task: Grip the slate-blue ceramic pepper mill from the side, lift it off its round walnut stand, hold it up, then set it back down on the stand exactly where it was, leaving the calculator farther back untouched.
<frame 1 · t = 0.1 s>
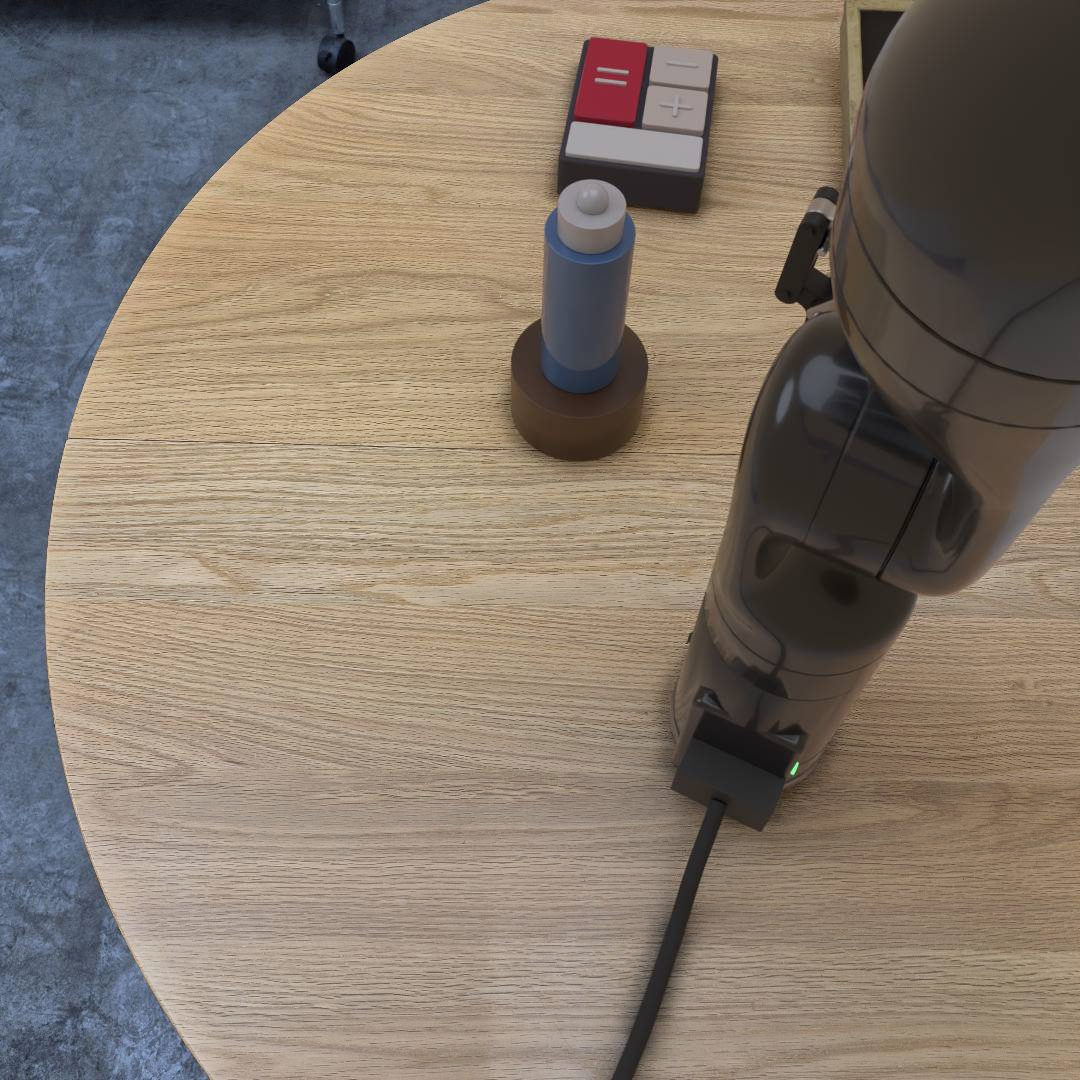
hand: (894, 383, 63), 17 cm above the table, tool pointing down, fingers open, 8 cm apart
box: (883, 152, 96), on the table
stand: (576, 407, 83), on the table
calculator: (637, 141, 96), on the table
pepper mill: (579, 362, 78), point 5 cm above the table, touching stand
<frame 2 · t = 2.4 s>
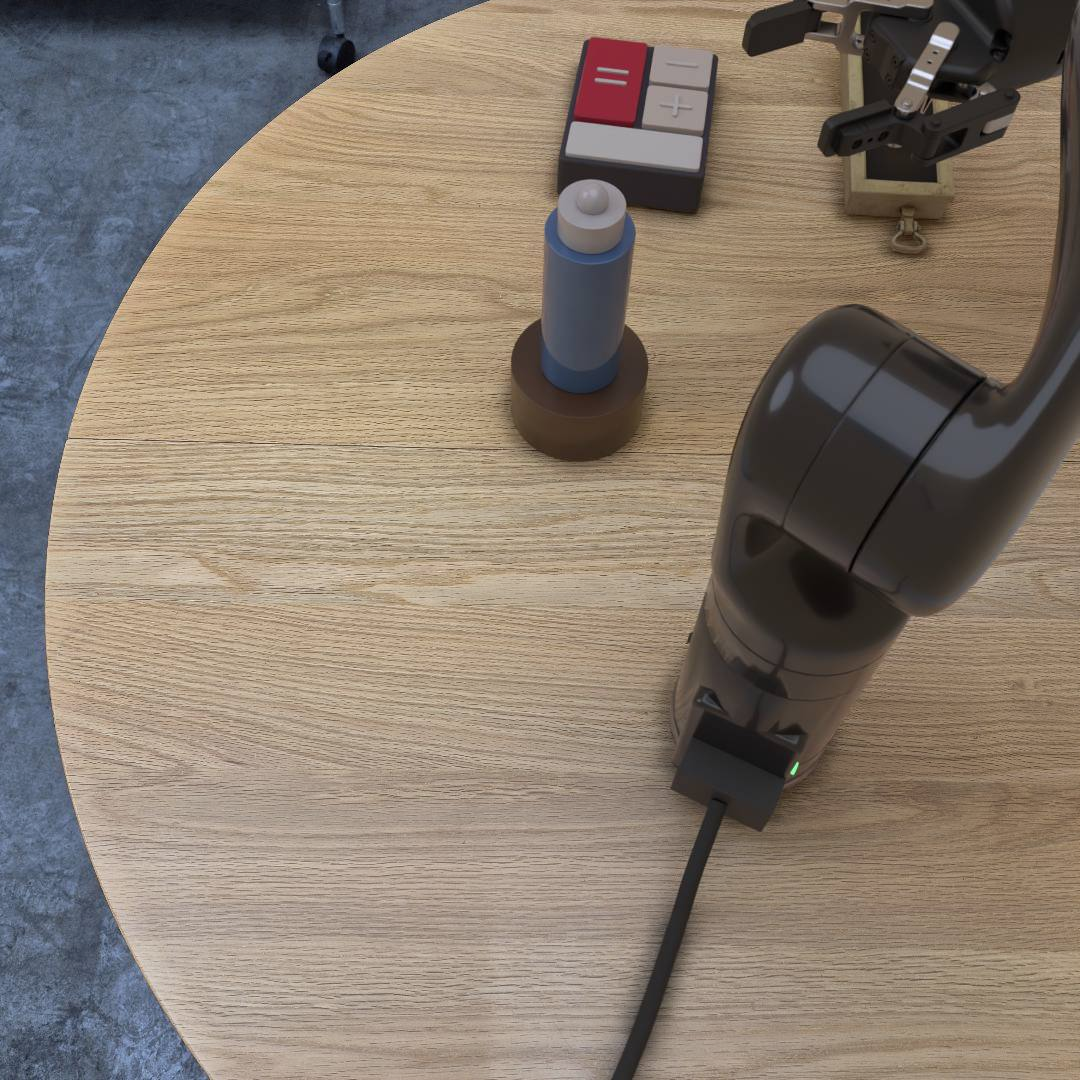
hand: (783, 87, 65), 23 cm above the table, tool horizontal, fingers open, 8 cm apart
nothing on the table moved.
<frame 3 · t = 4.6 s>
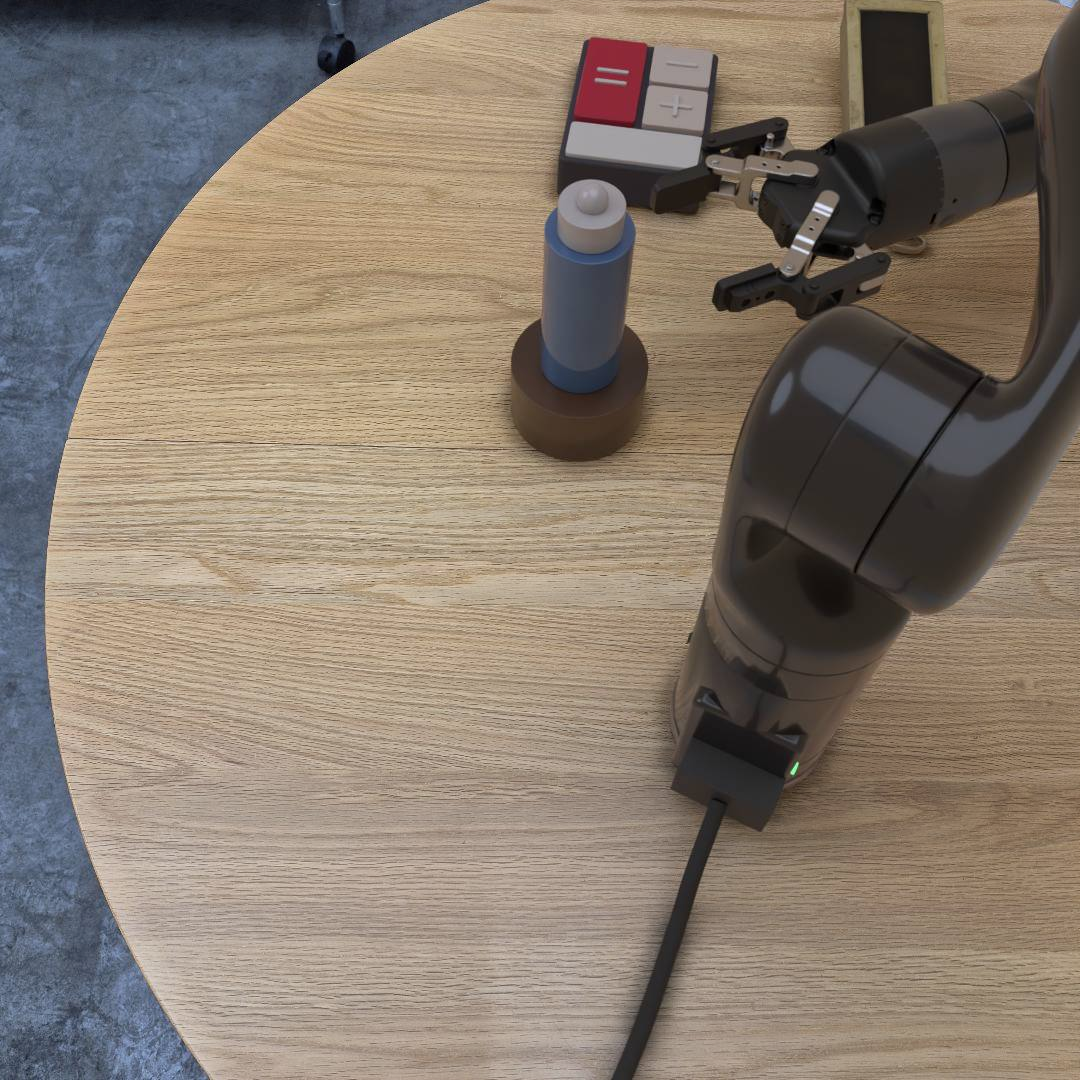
hand: (683, 247, 73), 13 cm above the table, tool horizontal, fingers open, 8 cm apart
nothing on the table moved.
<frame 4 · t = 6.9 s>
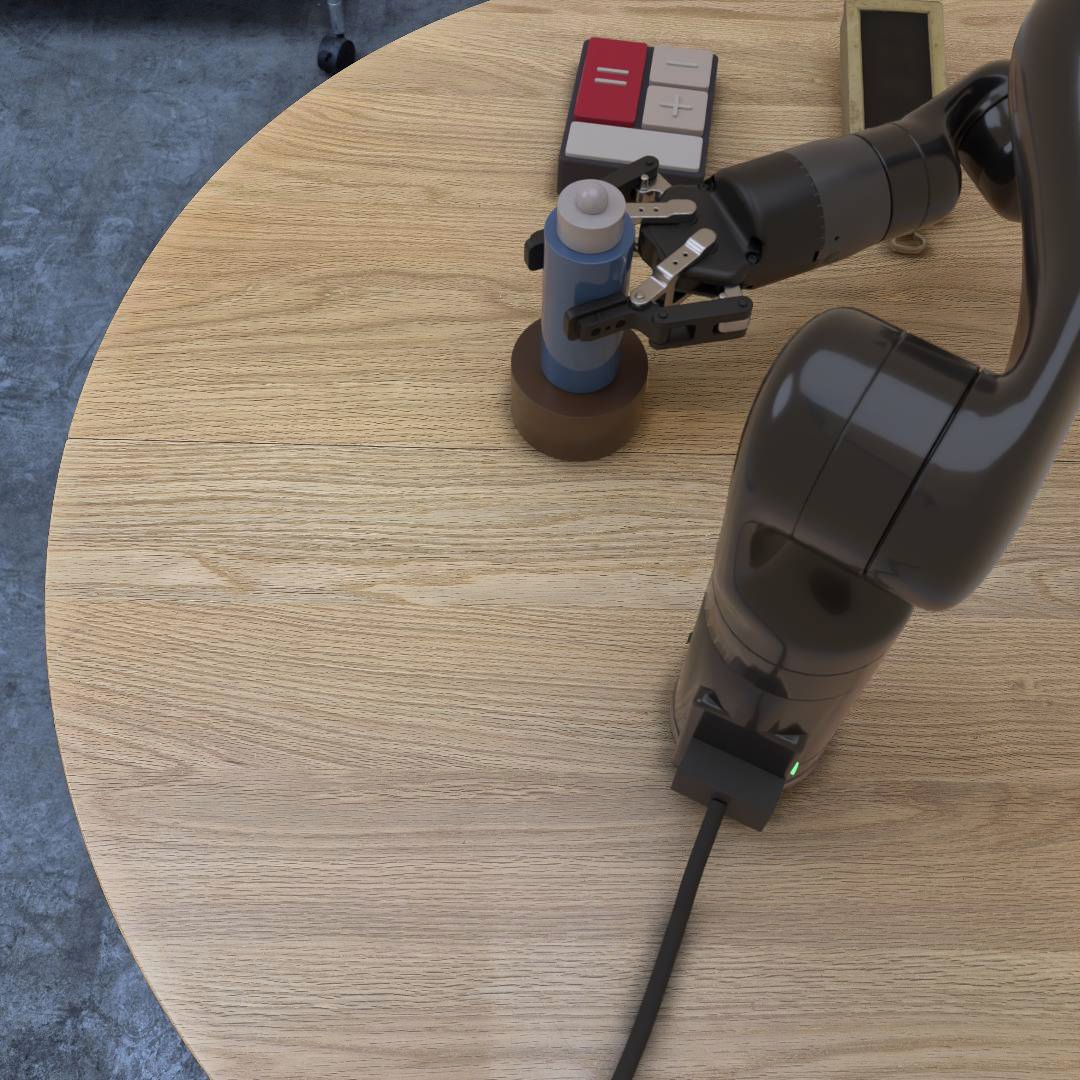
hand: (547, 290, 71), 13 cm above the table, tool horizontal, fingers closed on pepper mill, 5 cm apart
pepper mill: (579, 361, 78), point 5 cm above the table, touching gripper, stand
everything else where it was.
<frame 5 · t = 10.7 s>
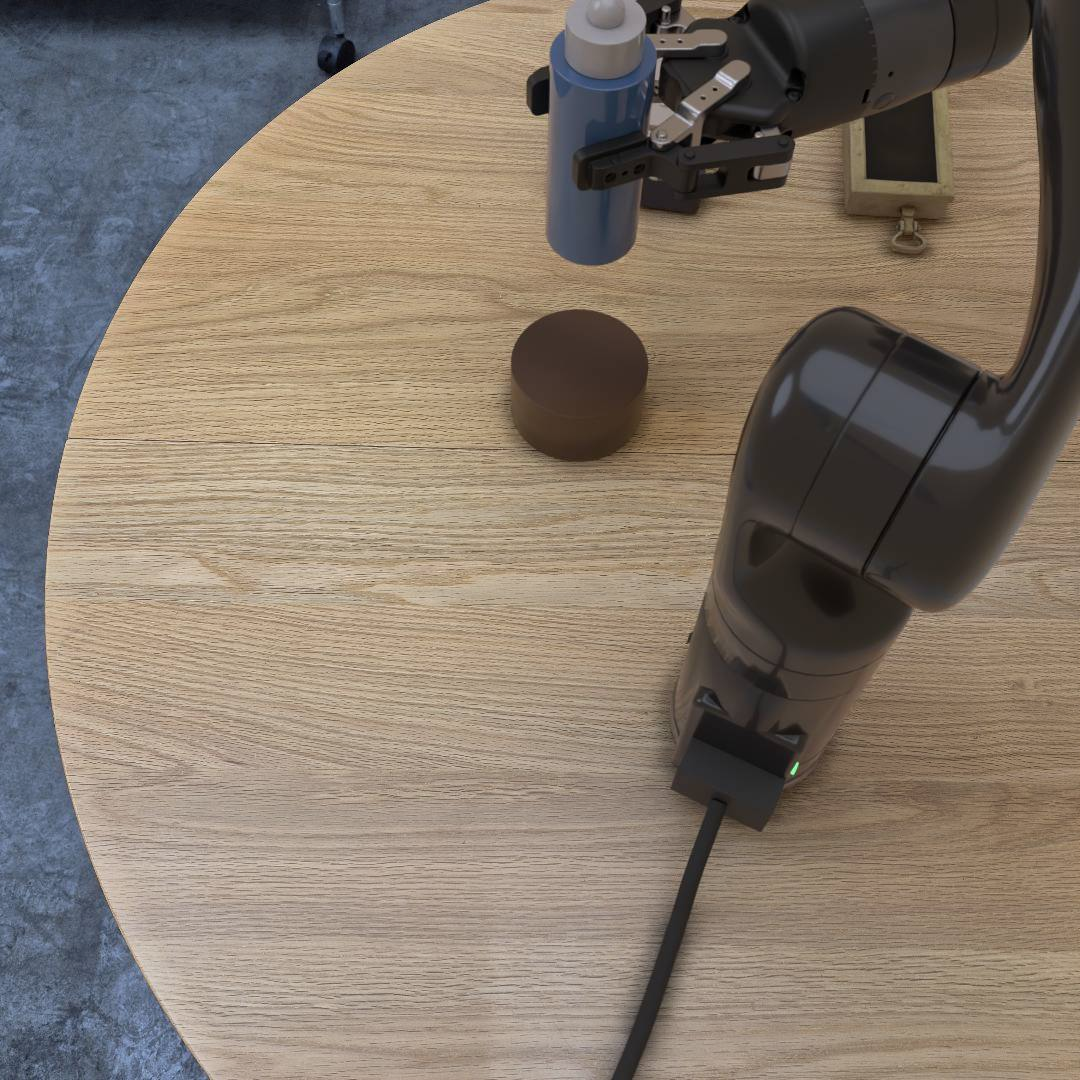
hand: (553, 133, 61), 25 cm above the table, tool horizontal, fingers closed on pepper mill, 5 cm apart
pepper mill: (591, 231, 68), point 17 cm above the table, touching gripper
everything else where it was.
when the fingers open (13 cm above the table, at t = 14.4 s): pepper mill stays where it is, resting on stand.
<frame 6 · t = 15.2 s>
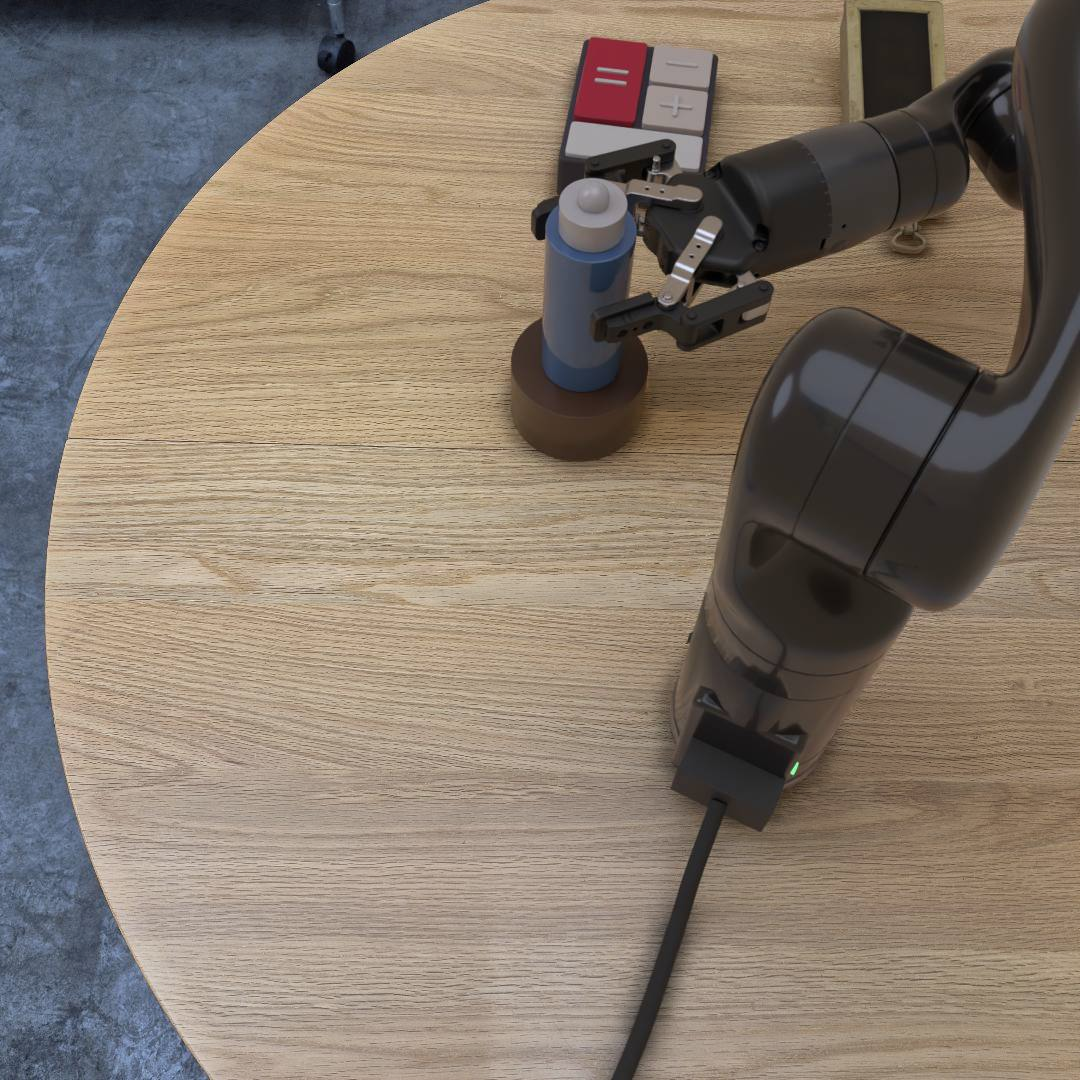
hand: (562, 275, 70), 14 cm above the table, tool horizontal, fingers open, 8 cm apart
pepper mill: (580, 360, 79), point 5 cm above the table, touching stand
everything else where it was.
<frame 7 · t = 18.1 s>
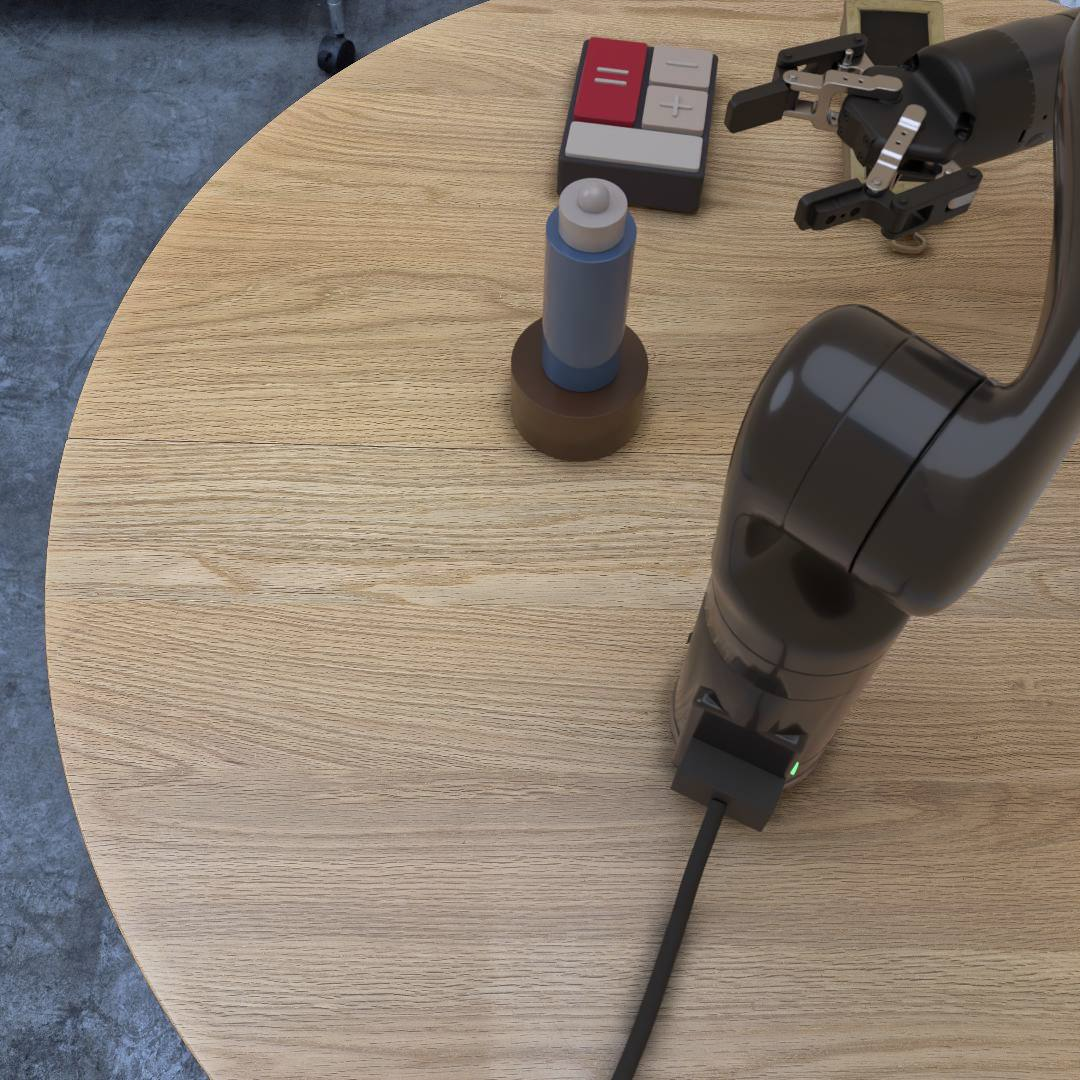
hand: (762, 164, 69), 18 cm above the table, tool horizontal, fingers open, 8 cm apart
nothing on the table moved.
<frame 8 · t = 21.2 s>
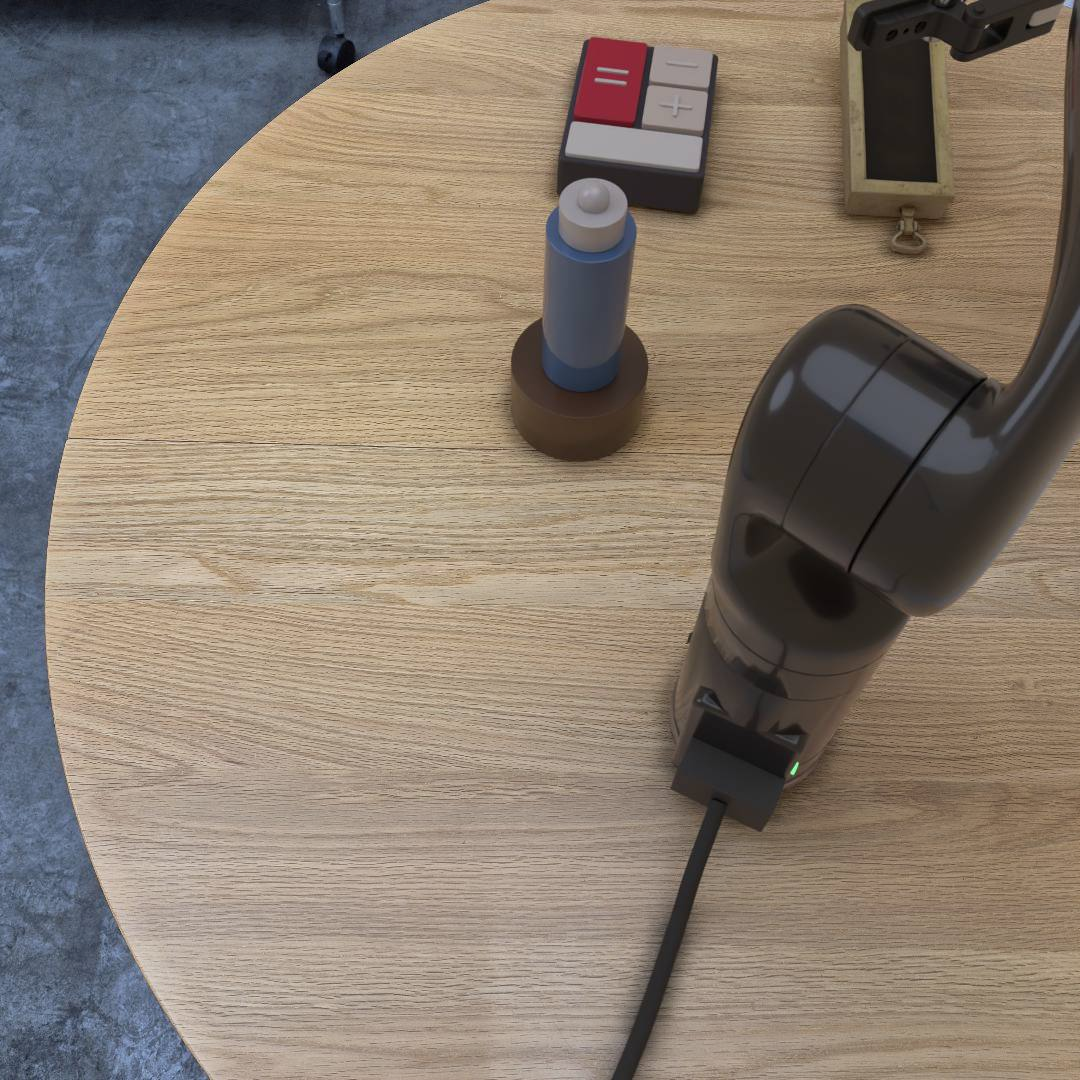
nothing on the table moved.
at the end: pepper mill 0.1 cm off-centre on the stand, point 5.0 cm above the stand's base; pepper mill tilted 0°; calculator moved 0.2 cm from its start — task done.
